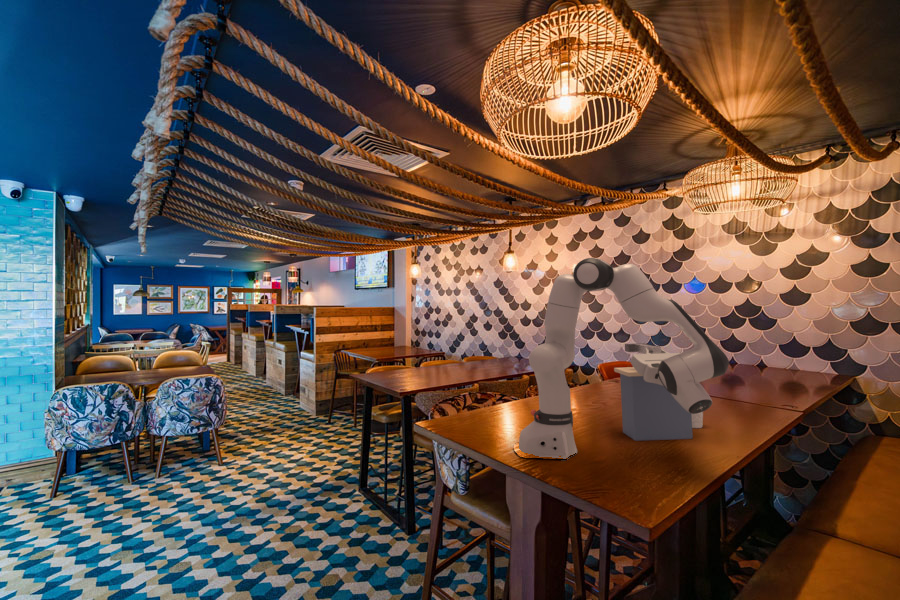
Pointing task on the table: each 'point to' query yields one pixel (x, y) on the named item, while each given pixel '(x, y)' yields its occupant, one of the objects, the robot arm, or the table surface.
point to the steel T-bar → (642, 348)
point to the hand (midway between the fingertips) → (652, 349)
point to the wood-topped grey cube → (651, 410)
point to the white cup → (697, 420)
